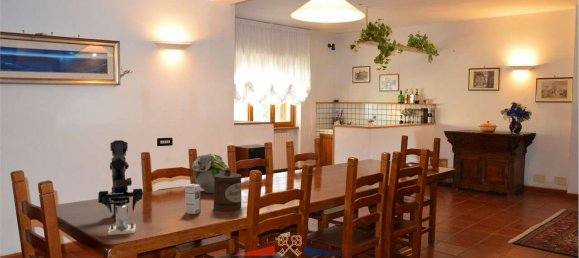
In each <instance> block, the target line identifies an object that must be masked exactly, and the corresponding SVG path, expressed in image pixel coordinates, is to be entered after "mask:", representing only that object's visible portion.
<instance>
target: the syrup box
mask: <svg viewBox="0 0 579 258" xmlns="http://www.w3.org/2000/svg"><path fill="white" fill-rule="evenodd" d="M184 199H185V200H184V205H185V210H184V211H185V214H190V215H196V214H199V213H201V209H202V208H201V207H202V205H201V188H200V185H199V184H196V183H190V184H187V185H185V186H184Z"/></svg>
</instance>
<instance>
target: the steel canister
mask: <svg viewBox="0 0 579 258" xmlns="http://www.w3.org/2000/svg"><path fill="white" fill-rule="evenodd" d="M128 225H129V204H125V205H117V206H116V217H115V226H116V229H117V230H120V226H123V230H125V229H128Z"/></svg>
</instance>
